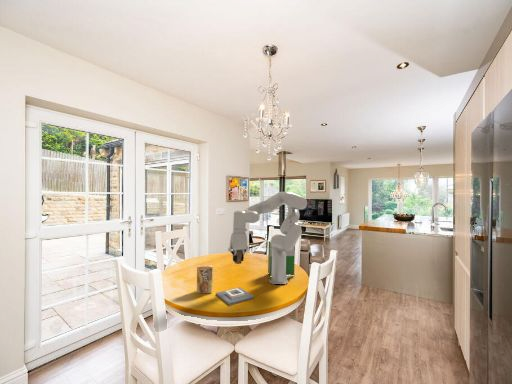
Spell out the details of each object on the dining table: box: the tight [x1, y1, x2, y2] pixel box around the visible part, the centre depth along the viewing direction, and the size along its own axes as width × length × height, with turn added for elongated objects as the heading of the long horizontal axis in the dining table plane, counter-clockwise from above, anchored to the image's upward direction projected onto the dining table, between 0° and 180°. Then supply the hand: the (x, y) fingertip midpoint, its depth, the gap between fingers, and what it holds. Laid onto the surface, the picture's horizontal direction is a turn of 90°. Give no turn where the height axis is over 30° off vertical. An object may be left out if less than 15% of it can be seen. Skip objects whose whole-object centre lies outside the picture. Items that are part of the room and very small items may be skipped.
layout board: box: [215, 286, 255, 306], centre depth 136 cm, size 16×16×2 cm
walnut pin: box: [234, 250, 242, 265], centre depth 146 cm, size 4×4×8 cm
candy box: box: [196, 264, 214, 294], centre depth 142 cm, size 9×4×15 cm, turn 93°
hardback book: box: [267, 241, 296, 277], centre depth 173 cm, size 18×7×24 cm, turn 98°
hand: (238, 260), depth 146 cm, fingers closed on walnut pin, 4 cm apart
